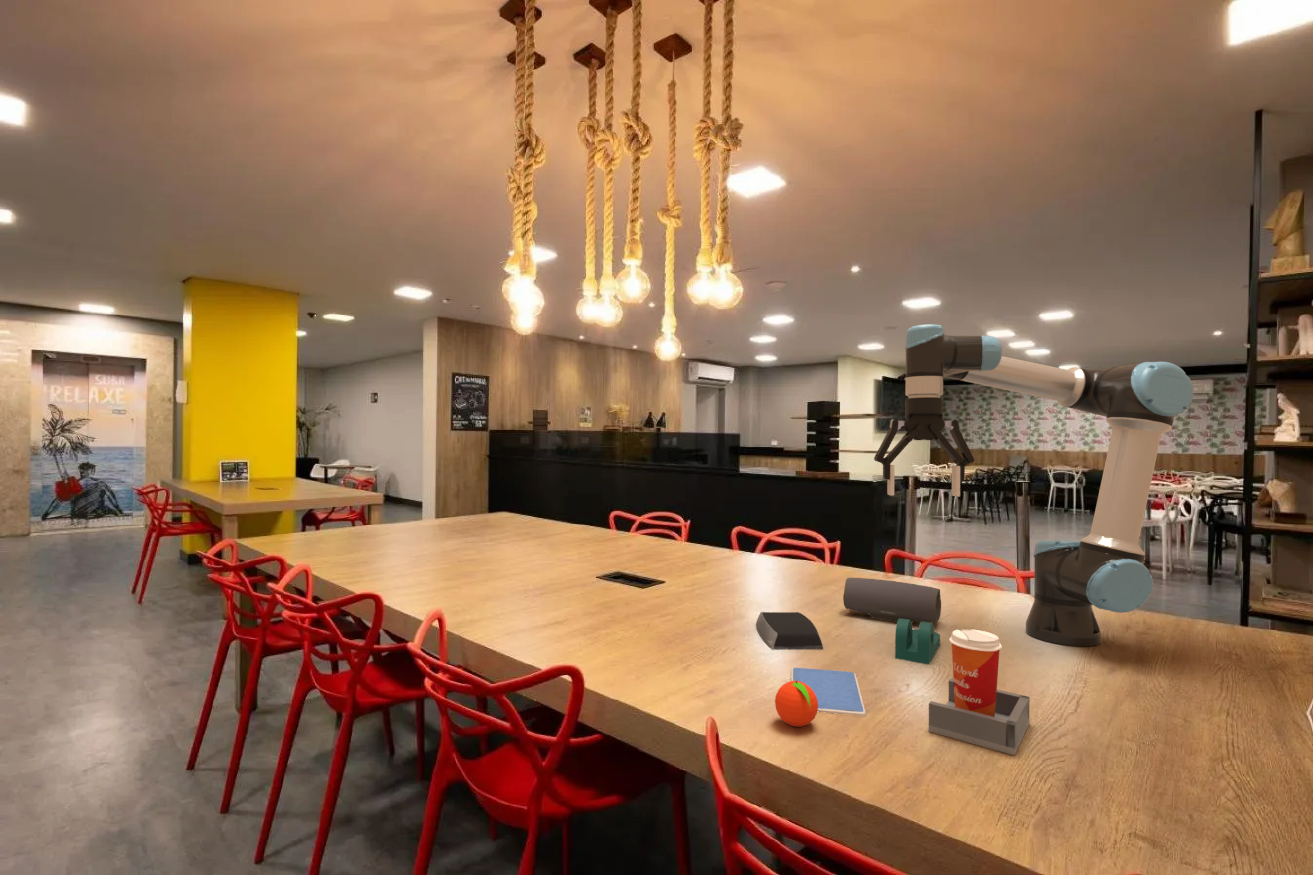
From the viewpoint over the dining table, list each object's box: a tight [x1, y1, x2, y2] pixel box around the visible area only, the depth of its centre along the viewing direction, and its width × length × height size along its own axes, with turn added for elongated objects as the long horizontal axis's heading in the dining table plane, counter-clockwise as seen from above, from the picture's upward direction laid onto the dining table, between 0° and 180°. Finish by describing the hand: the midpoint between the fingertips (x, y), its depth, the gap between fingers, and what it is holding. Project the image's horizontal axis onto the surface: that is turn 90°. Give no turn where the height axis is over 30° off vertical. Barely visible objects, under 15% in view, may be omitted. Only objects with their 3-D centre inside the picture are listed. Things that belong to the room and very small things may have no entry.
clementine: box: [774, 680, 818, 728], centre depth 104 cm, size 8×7×7 cm
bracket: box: [894, 618, 941, 665], centre depth 142 cm, size 18×7×8 cm, turn 148°
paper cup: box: [949, 628, 1003, 717], centre depth 104 cm, size 8×8×14 cm
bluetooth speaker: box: [842, 577, 942, 623], centre depth 165 cm, size 23×9×10 cm, turn 58°
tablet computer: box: [790, 667, 867, 717], centre depth 118 cm, size 19×13×1 cm, turn 168°
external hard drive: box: [755, 611, 824, 651], centre depth 151 cm, size 13×19×4 cm
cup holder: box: [928, 678, 1031, 756], centre depth 104 cm, size 12×13×4 cm
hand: (923, 495), depth 138 cm, fingers open, 13 cm apart
